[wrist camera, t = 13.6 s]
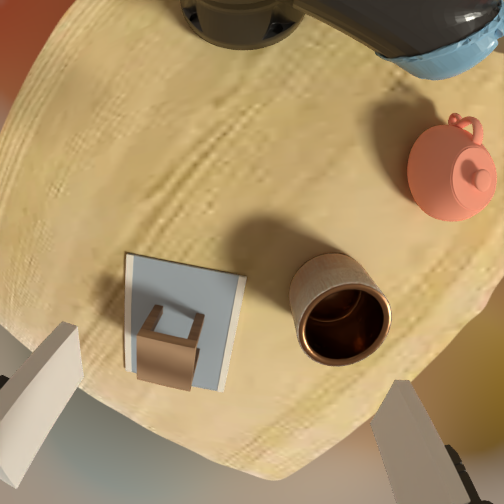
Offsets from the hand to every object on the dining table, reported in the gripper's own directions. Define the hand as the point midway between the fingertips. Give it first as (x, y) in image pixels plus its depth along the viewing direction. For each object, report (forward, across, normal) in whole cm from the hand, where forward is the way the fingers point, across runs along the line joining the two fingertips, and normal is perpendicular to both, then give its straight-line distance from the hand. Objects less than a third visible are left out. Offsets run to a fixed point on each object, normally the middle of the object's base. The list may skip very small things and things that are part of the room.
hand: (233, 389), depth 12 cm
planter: (+29, +12, -7) cm, 32 cm away
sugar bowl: (+29, +23, +13) cm, 39 cm away
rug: (+29, -7, -17) cm, 34 cm away
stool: (+28, -7, -17) cm, 34 cm away
